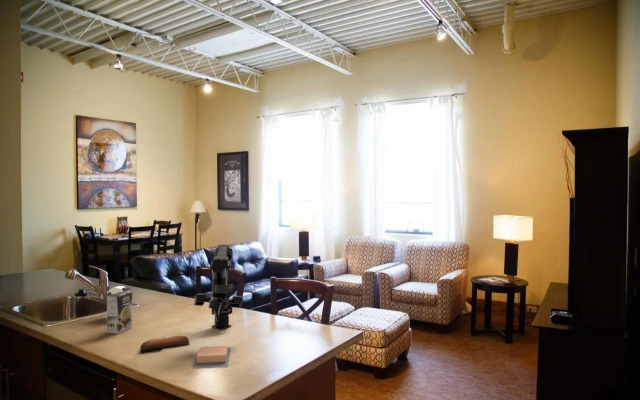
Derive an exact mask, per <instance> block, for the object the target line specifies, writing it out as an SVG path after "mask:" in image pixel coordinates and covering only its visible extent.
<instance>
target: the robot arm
mask: <svg viewBox="0 0 640 400" xmlns="http://www.w3.org/2000/svg"><path fill="white" fill-rule="evenodd" d="M214 250H215V251H214V257H213V258H212V260H211V262H210V270H211V275H212V285H211V286H212V288H211V297H209V296H207V293H196V295H195V297H194V302H193V303H194V304H193V305H194V306H199V307H203V306H204V304H205V303H208V309H210V310H211V316H214V324H213V325H211V327H212V328H214V329H217V330H223V329H227V328H231V327H232V324H230V315H231V314H233V308H235V309H236V308H241V307H242V304H243V302H244V298H243V296H242V295H233V296H232V298H230V294H229V293H232V292H233V291H234V284H233V283H228V271H229V270H230V269H231V266H232V260H233V259H234V250H233V248H231V247H230V246H229V245H228V244H219V245H217V248H215V249H214Z"/></svg>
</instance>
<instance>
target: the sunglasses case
mask: <svg viewBox="0 0 640 400" xmlns="http://www.w3.org/2000/svg"><path fill="white" fill-rule="evenodd" d="M187 345H189V346H190V339H189V338H188V336H186V335H173V336H169V337H162V338H152V339H149V340H147V341H144V342H143V343H142V344H141V345H140V346H139V347H140V353H145V352H150V351H154V350H157V349H166V348H167V349H168V348H171V347H172V348H174V347H179V346H187Z"/></svg>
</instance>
